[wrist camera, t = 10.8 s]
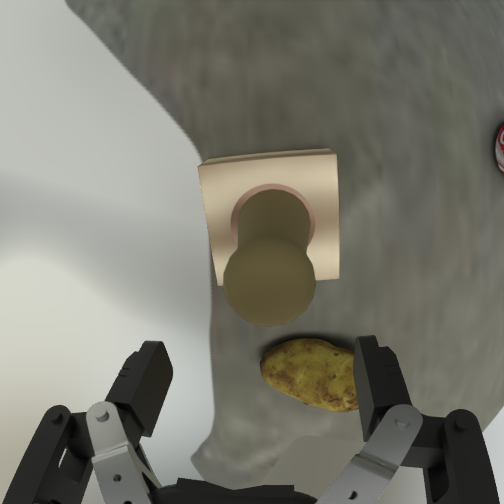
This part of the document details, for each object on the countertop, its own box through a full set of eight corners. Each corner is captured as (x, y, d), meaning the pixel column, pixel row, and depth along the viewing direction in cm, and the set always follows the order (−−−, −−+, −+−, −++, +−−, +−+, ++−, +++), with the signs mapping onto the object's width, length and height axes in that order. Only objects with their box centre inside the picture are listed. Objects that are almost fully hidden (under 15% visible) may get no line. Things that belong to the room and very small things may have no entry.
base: (208, 158, 28) (197, 166, 25) (329, 148, 27) (336, 154, 23) (225, 265, 33) (218, 285, 29) (333, 258, 32) (339, 278, 28)
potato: (282, 310, 35) (281, 361, 28) (377, 342, 36) (392, 390, 29) (255, 359, 38) (249, 409, 31) (344, 384, 39) (350, 431, 32)
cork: (278, 173, 24) (276, 220, 15) (325, 229, 26) (348, 306, 16) (222, 219, 27) (186, 289, 17) (269, 270, 28) (260, 358, 18)
